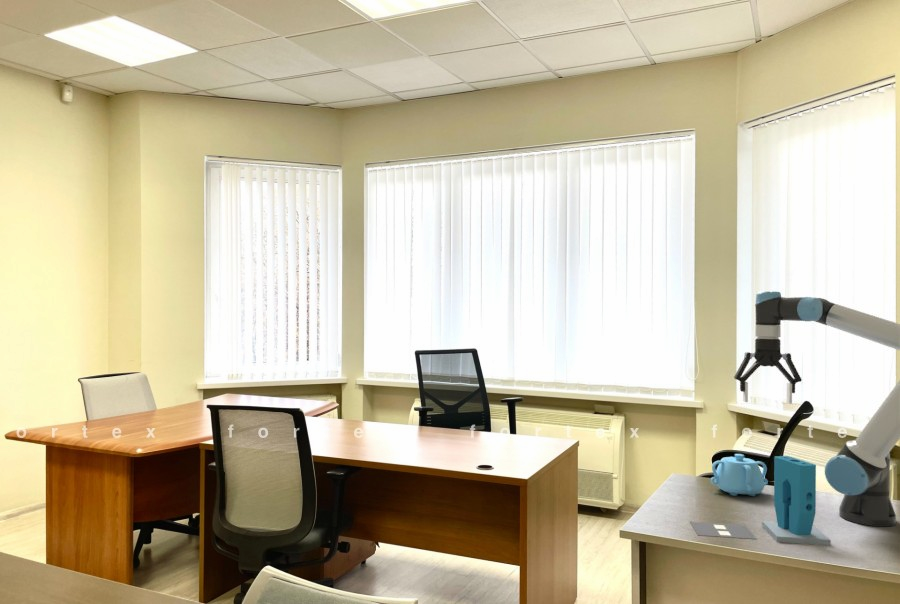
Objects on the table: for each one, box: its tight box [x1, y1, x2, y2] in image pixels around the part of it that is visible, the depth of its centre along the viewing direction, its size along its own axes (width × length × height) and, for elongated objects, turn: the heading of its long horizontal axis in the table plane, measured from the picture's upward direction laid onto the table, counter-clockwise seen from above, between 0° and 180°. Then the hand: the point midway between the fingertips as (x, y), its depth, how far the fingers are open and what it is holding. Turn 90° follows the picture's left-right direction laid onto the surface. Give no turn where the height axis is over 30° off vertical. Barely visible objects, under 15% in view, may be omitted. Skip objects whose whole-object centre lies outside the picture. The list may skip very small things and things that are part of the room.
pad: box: [761, 520, 832, 546], centre depth 192 cm, size 14×14×2 cm
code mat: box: [689, 521, 757, 540], centre depth 195 cm, size 16×12×1 cm
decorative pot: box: [710, 453, 769, 497], centre depth 237 cm, size 16×16×14 cm
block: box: [773, 455, 817, 535], centre depth 192 cm, size 12×5×20 cm, turn 12°
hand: (767, 402), depth 219 cm, fingers open, 13 cm apart
